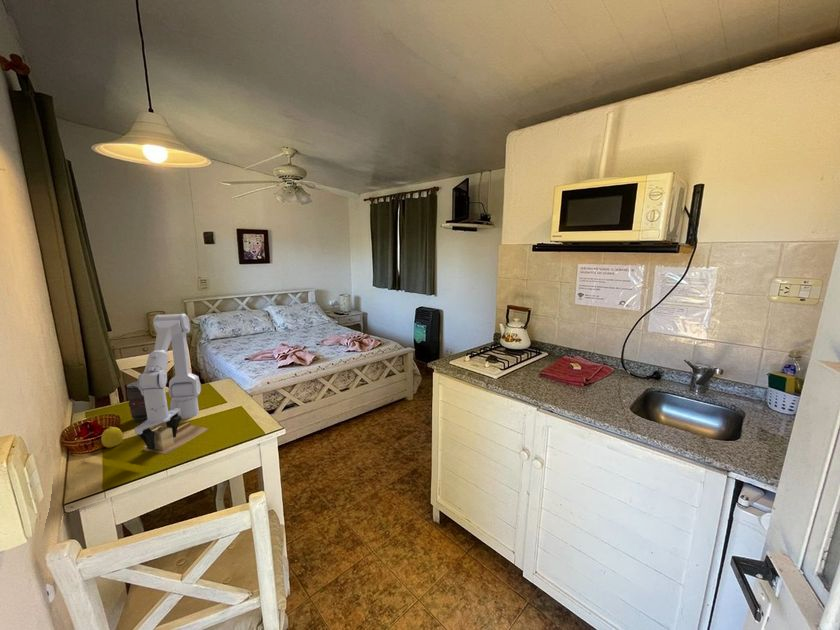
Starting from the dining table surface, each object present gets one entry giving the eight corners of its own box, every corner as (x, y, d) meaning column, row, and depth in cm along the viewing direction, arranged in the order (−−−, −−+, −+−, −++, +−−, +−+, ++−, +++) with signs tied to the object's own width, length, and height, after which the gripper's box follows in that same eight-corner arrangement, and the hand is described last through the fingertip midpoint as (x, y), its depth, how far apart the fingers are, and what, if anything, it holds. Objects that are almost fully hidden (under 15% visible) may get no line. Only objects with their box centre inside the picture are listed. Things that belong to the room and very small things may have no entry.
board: (144, 453, 117) (142, 446, 116) (188, 428, 133) (187, 422, 132) (167, 458, 114) (166, 450, 114) (210, 432, 130) (209, 425, 130)
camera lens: (146, 423, 137) (140, 388, 134) (126, 423, 137) (120, 387, 134) (162, 413, 145) (156, 380, 142) (143, 413, 145) (137, 379, 142)
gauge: (151, 448, 118) (148, 429, 116) (162, 441, 121) (160, 423, 120) (163, 450, 116) (160, 431, 115) (174, 443, 120) (171, 425, 119)
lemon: (107, 454, 116) (102, 432, 115) (101, 449, 119) (96, 428, 118) (127, 446, 121) (123, 425, 119) (121, 442, 124) (117, 421, 122)
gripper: (144, 417, 108) (150, 456, 111) (185, 398, 122) (190, 433, 124) (126, 414, 110) (133, 453, 112) (169, 396, 124) (174, 430, 126)
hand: (162, 442), depth 119 cm, fingers open, 7 cm apart
